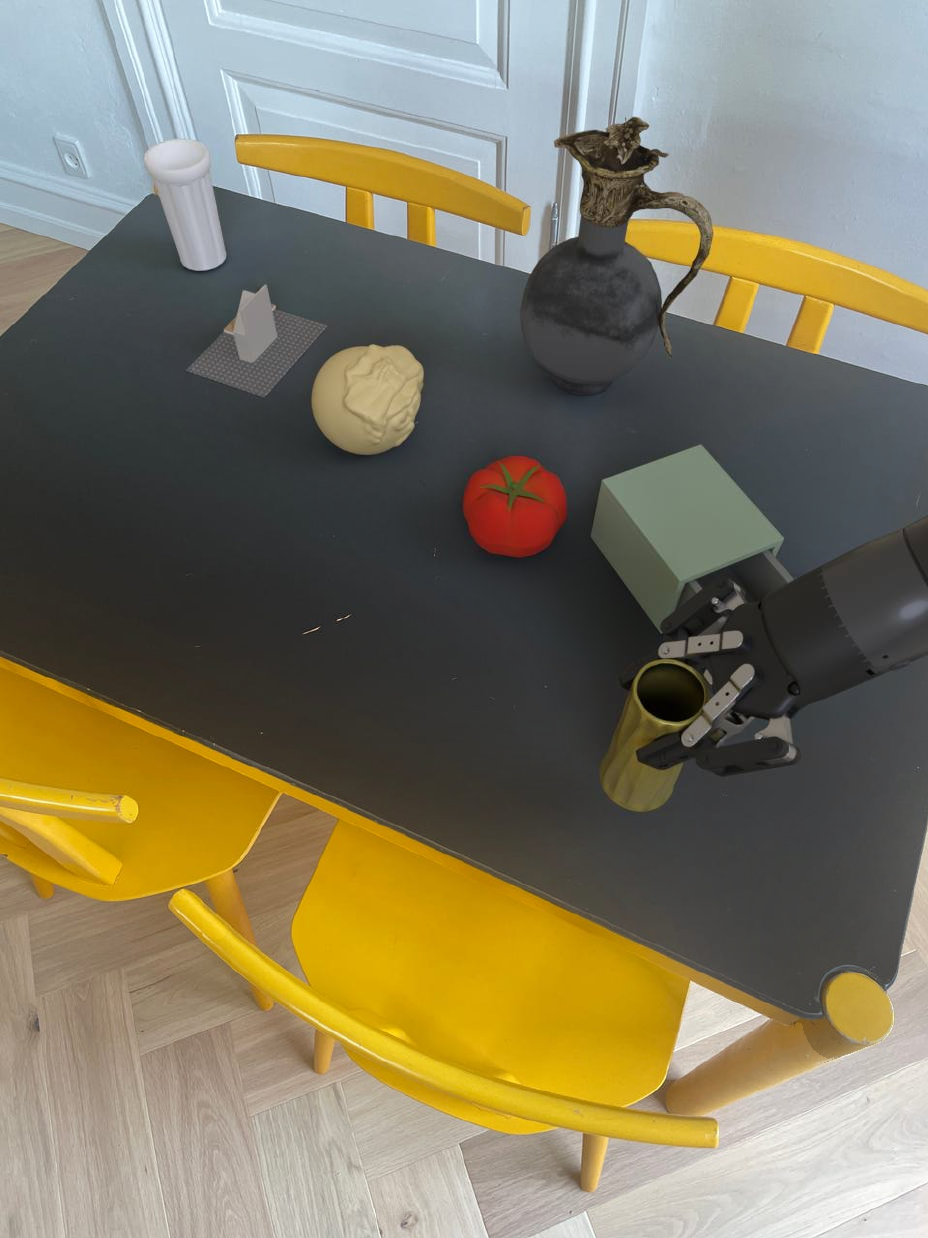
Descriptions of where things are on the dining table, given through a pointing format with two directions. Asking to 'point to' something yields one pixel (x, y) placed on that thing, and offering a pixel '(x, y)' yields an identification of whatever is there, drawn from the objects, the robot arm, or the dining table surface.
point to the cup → (188, 200)
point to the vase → (651, 732)
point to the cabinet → (676, 526)
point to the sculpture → (368, 398)
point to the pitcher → (604, 268)
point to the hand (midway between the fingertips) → (635, 721)
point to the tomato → (514, 507)
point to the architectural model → (257, 346)
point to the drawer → (741, 584)
